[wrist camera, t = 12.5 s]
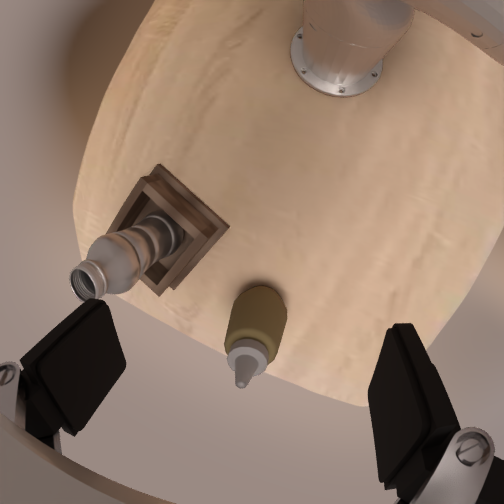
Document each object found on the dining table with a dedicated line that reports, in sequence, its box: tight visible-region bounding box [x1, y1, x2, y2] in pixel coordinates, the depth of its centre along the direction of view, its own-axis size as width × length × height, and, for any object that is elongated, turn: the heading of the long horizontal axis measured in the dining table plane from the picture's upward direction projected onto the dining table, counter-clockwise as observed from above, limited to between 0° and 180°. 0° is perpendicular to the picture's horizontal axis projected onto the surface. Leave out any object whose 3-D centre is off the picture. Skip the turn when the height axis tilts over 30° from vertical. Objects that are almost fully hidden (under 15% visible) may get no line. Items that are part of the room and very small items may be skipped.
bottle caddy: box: [106, 164, 230, 296], centre depth 40 cm, size 14×14×6 cm
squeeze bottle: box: [224, 286, 287, 388], centre depth 36 cm, size 8×8×18 cm
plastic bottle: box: [69, 211, 184, 303], centre depth 32 cm, size 6×7×20 cm
